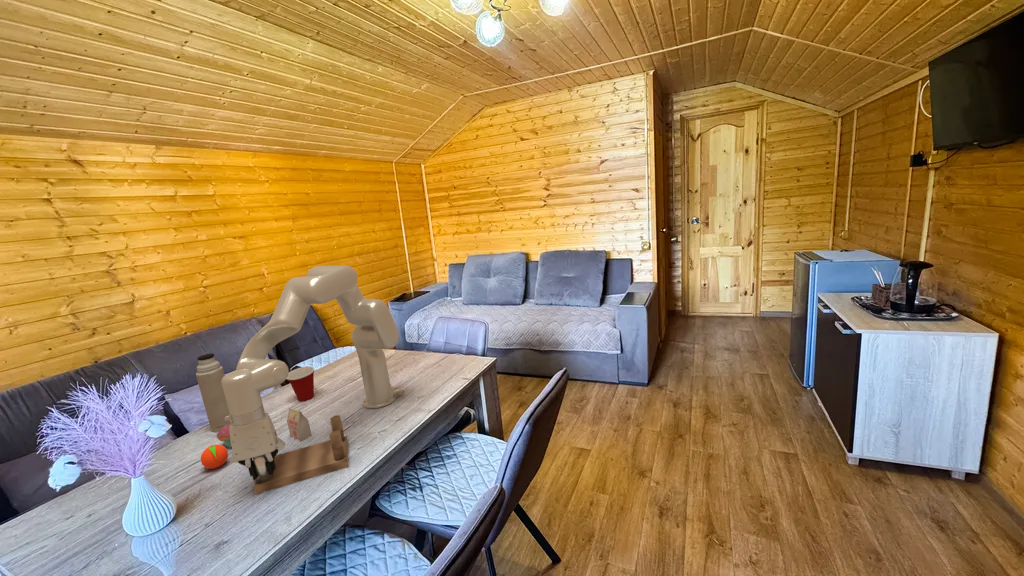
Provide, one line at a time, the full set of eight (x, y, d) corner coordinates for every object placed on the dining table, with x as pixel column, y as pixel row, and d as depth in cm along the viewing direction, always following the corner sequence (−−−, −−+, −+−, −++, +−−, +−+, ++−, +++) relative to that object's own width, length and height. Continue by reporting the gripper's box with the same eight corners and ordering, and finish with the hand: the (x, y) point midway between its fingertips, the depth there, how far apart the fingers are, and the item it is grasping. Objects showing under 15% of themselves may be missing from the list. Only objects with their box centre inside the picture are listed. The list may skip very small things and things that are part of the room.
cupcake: (255, 438, 144) (247, 406, 141) (232, 452, 136) (223, 419, 133) (237, 435, 146) (229, 404, 144) (214, 449, 139) (204, 417, 136)
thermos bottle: (206, 433, 150) (186, 361, 144) (219, 422, 158) (200, 352, 152) (229, 430, 151) (209, 358, 145) (241, 419, 158) (223, 350, 153)
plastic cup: (285, 403, 168) (278, 376, 166) (306, 391, 178) (301, 365, 175) (304, 406, 164) (298, 378, 161) (325, 393, 174) (320, 367, 171)
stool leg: (260, 465, 122) (253, 438, 120) (273, 461, 123) (266, 434, 121) (257, 483, 114) (250, 453, 112) (271, 478, 115) (263, 449, 113)
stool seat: (348, 442, 135) (342, 413, 133) (348, 466, 122) (341, 434, 120) (264, 466, 127) (256, 435, 124) (255, 494, 114) (246, 460, 112)
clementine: (233, 466, 128) (227, 445, 127) (206, 478, 123) (200, 456, 122) (228, 456, 134) (222, 436, 132) (201, 467, 129) (196, 447, 128)
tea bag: (300, 431, 145) (295, 404, 143) (311, 435, 142) (305, 409, 139) (290, 436, 142) (284, 409, 140) (301, 441, 139) (295, 414, 136)
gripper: (208, 430, 105) (226, 493, 109) (280, 412, 111) (295, 472, 115) (216, 417, 112) (233, 476, 116) (284, 400, 118) (298, 457, 122)
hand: (264, 474), depth 116 cm, fingers open, 3 cm apart
